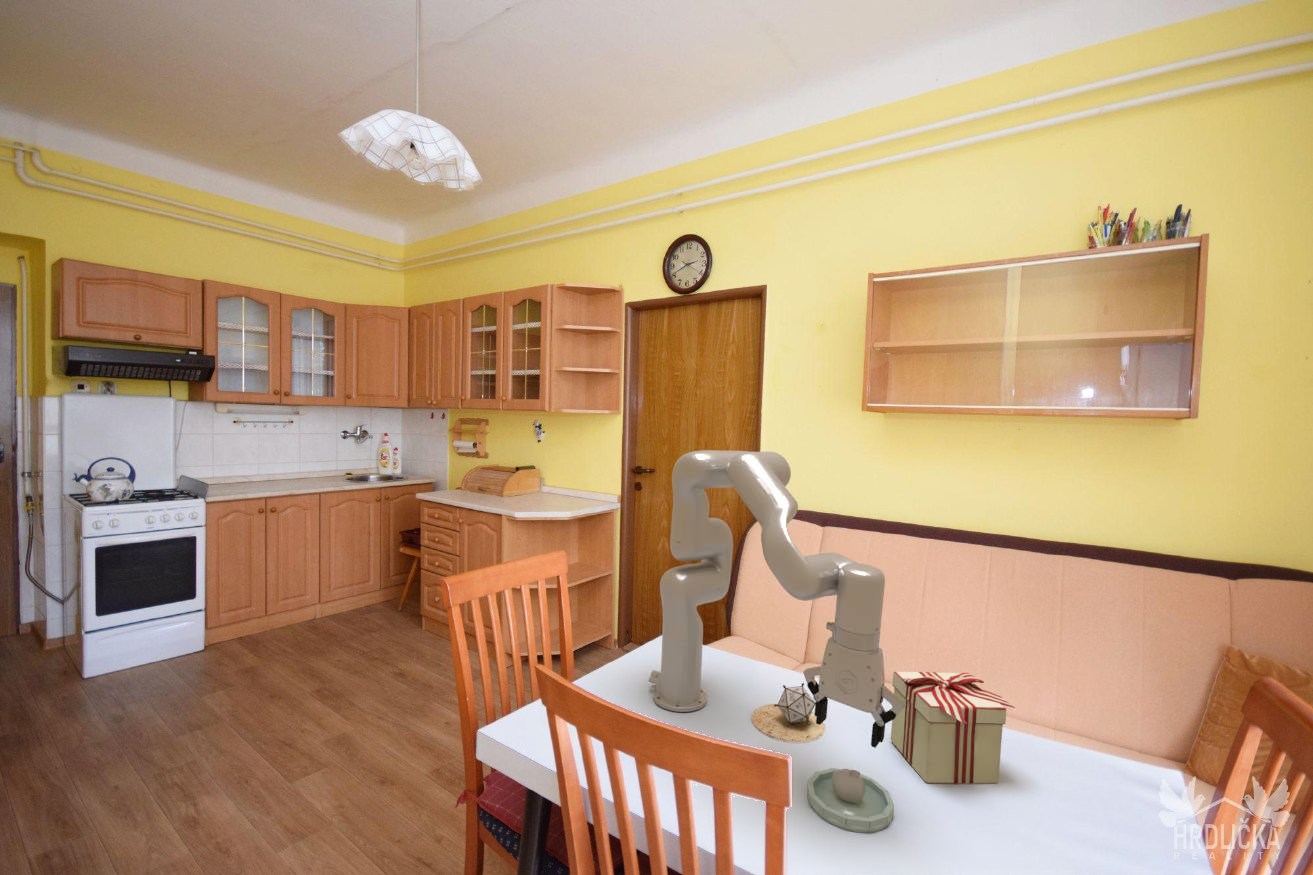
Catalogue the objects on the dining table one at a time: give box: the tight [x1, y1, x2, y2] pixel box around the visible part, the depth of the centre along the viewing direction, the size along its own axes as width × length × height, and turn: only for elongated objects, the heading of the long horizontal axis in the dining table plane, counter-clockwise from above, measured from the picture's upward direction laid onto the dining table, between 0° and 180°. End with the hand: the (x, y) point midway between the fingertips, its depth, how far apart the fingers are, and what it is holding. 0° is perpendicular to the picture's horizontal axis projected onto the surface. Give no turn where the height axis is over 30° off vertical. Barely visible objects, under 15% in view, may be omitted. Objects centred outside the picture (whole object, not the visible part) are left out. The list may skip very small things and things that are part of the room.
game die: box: [773, 682, 816, 726], centre depth 128 cm, size 9×8×10 cm
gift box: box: [890, 671, 1016, 785], centre depth 113 cm, size 17×18×17 cm
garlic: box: [831, 768, 866, 803], centre depth 101 cm, size 6×5×5 cm
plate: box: [806, 767, 895, 834], centre depth 100 cm, size 14×14×2 cm
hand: (847, 732), depth 101 cm, fingers open, 9 cm apart
